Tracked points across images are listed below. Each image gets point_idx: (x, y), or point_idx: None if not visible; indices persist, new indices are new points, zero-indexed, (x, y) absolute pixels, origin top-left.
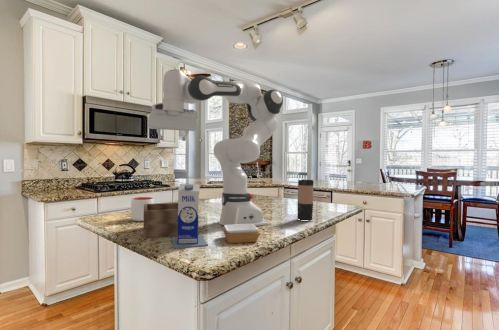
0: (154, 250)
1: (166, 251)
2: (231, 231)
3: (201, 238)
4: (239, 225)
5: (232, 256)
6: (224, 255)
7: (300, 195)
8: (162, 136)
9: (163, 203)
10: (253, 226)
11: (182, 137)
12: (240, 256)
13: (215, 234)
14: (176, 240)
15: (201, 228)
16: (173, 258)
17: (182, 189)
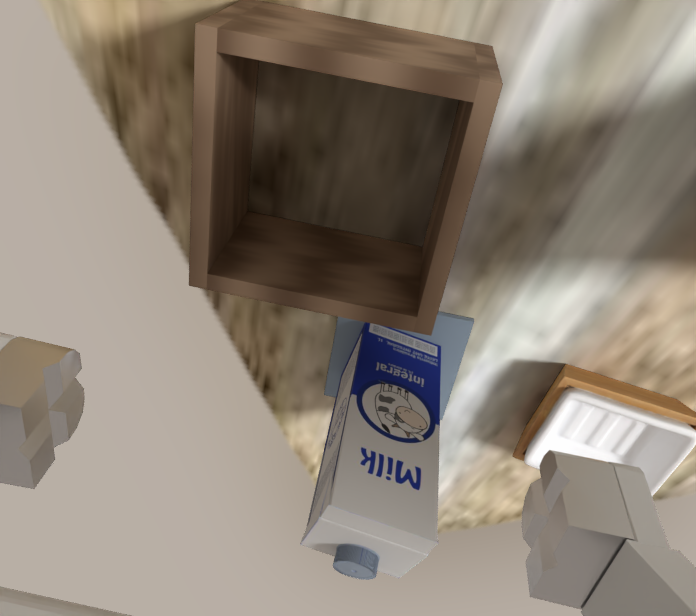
0: (259, 377)
1: (294, 401)
2: (537, 467)
3: (453, 353)
4: (634, 419)
5: (462, 514)
6: (445, 499)
7: None
8: (30, 467)
9: (338, 62)
10: (670, 463)
11: (527, 574)
12: (482, 523)
13: (552, 308)
14: (350, 333)
15: (553, 174)
16: (301, 456)
17: (325, 544)
